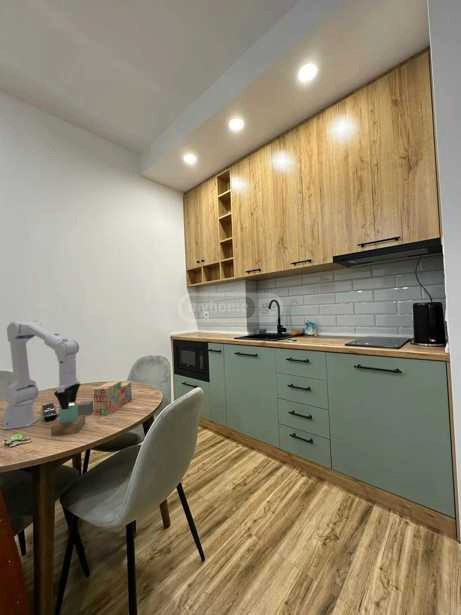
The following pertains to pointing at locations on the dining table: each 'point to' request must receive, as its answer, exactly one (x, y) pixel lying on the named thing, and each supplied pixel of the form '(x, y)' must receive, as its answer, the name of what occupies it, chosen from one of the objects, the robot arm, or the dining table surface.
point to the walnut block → (68, 426)
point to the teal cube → (68, 414)
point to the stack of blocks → (111, 396)
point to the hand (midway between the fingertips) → (68, 405)
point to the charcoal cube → (85, 408)
